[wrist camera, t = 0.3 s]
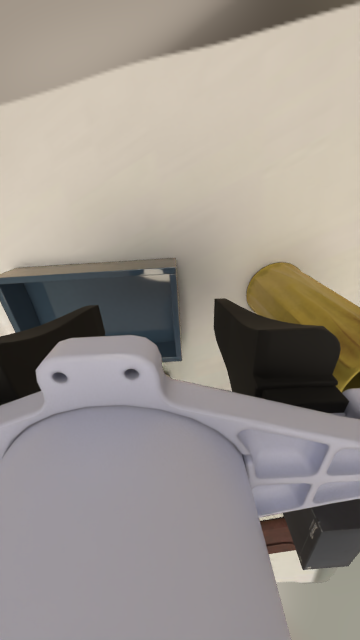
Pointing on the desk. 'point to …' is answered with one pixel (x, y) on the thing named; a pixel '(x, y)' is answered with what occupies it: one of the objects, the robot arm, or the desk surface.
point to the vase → (310, 312)
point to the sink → (100, 298)
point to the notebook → (277, 536)
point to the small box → (326, 534)
